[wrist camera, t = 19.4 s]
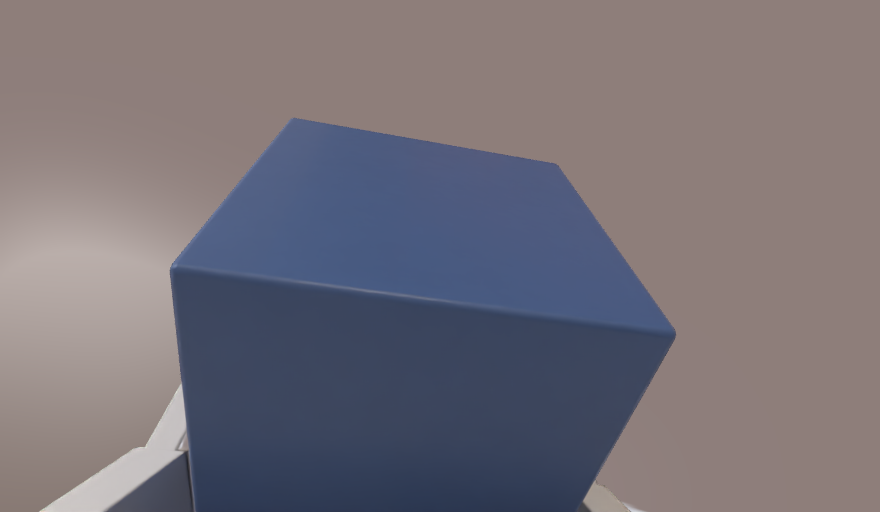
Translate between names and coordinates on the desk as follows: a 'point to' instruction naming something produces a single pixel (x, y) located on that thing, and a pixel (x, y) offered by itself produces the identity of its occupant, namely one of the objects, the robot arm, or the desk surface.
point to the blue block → (405, 332)
